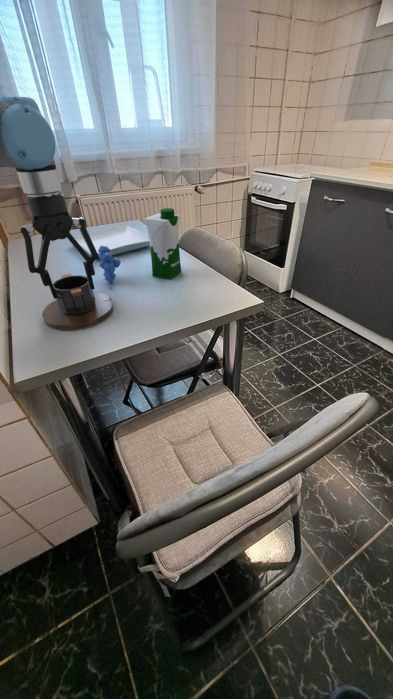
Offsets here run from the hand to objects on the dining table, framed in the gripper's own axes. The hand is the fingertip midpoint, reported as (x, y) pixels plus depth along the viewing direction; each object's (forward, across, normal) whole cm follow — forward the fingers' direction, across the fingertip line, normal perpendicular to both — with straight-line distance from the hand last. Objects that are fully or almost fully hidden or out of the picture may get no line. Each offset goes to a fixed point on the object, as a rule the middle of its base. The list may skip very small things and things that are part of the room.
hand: (73, 291), depth 75 cm
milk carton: (+6, -31, -10) cm, 33 cm away
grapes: (+6, -14, -14) cm, 21 cm away
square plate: (+6, -25, -49) cm, 55 cm away
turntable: (+6, 0, 0) cm, 6 cm away
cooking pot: (+4, 0, 0) cm, 4 cm away
